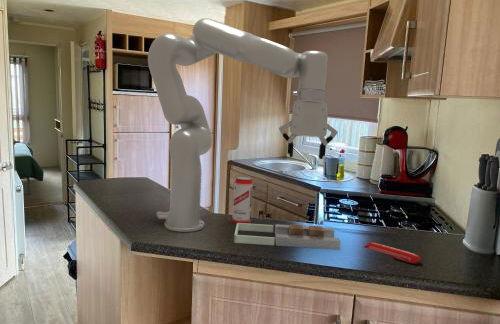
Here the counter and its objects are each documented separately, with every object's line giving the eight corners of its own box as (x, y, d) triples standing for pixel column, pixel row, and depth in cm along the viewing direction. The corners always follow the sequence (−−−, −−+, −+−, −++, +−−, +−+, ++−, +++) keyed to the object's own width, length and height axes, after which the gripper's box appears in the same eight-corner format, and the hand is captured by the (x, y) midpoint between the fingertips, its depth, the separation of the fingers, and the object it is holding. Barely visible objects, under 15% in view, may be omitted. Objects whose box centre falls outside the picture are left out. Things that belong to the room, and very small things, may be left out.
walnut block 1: (289, 241, 116) (290, 228, 115) (288, 236, 120) (289, 224, 119) (302, 242, 116) (303, 229, 115) (301, 237, 120) (302, 225, 119)
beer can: (248, 228, 129) (251, 180, 127) (229, 226, 130) (232, 178, 128) (252, 222, 135) (255, 177, 133) (234, 220, 136) (236, 175, 134)
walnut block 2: (309, 242, 116) (310, 229, 115) (308, 238, 120) (309, 225, 119) (323, 243, 116) (324, 230, 115) (321, 239, 119) (322, 226, 119)
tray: (233, 245, 112) (234, 235, 112) (236, 232, 124) (237, 222, 124) (273, 248, 112) (274, 238, 112) (272, 234, 124) (273, 225, 124)
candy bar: (423, 264, 108) (424, 253, 107) (418, 268, 105) (420, 257, 105) (367, 248, 118) (368, 238, 118) (362, 251, 115) (363, 241, 115)
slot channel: (275, 248, 112) (276, 236, 112) (274, 234, 124) (275, 224, 123) (339, 253, 112) (340, 241, 111) (332, 238, 123) (333, 228, 123)
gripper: (280, 94, 108) (276, 157, 111) (344, 98, 108) (338, 161, 110) (279, 94, 116) (275, 154, 118) (339, 98, 115) (333, 157, 118)
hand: (305, 157), depth 114 cm, fingers open, 8 cm apart
